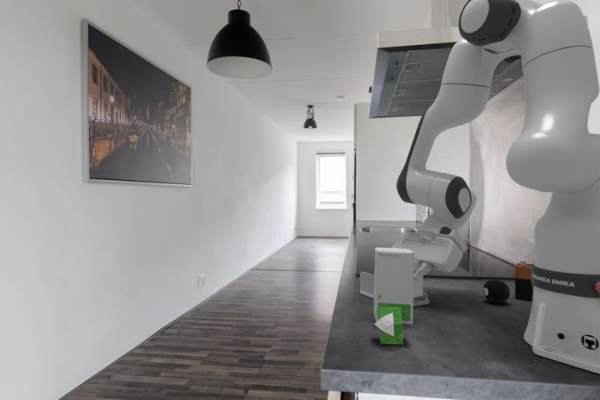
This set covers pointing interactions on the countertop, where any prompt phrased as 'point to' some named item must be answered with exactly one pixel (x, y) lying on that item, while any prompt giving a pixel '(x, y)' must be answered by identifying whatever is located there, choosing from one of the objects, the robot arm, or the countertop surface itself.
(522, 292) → the battery
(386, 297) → the skincare box
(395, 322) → the geometric puzzle
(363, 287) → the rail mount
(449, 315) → the countertop surface
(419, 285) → the block
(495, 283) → the billiard ball
